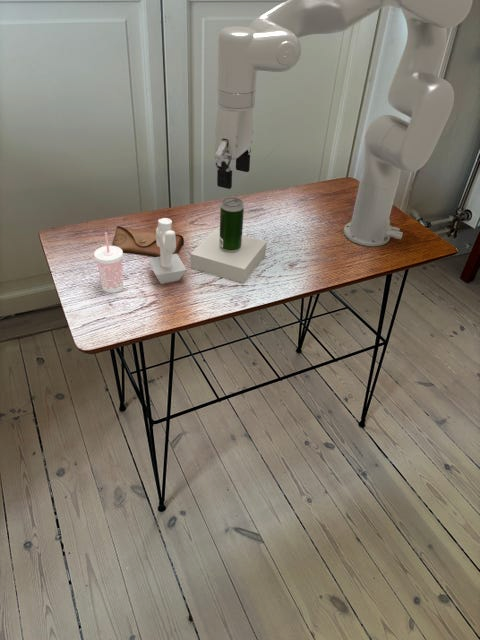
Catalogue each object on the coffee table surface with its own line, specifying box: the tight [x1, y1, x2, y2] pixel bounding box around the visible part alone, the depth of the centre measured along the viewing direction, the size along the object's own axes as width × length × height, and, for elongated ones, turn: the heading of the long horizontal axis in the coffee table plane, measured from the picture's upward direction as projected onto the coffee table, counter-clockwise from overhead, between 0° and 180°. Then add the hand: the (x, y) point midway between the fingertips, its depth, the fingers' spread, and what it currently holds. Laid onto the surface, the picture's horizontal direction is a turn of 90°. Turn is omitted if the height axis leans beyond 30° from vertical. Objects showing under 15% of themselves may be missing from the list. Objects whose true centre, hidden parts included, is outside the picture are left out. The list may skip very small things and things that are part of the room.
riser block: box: [189, 227, 267, 284], centre depth 126 cm, size 14×14×4 cm
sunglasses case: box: [110, 225, 185, 258], centre depth 129 cm, size 18×7×7 cm, turn 81°
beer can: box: [219, 196, 245, 253], centre depth 121 cm, size 5×5×12 cm
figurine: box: [147, 217, 187, 285], centre depth 116 cm, size 7×9×15 cm
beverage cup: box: [93, 231, 124, 294], centre depth 112 cm, size 6×6×14 cm
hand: (233, 178), depth 113 cm, fingers open, 9 cm apart
